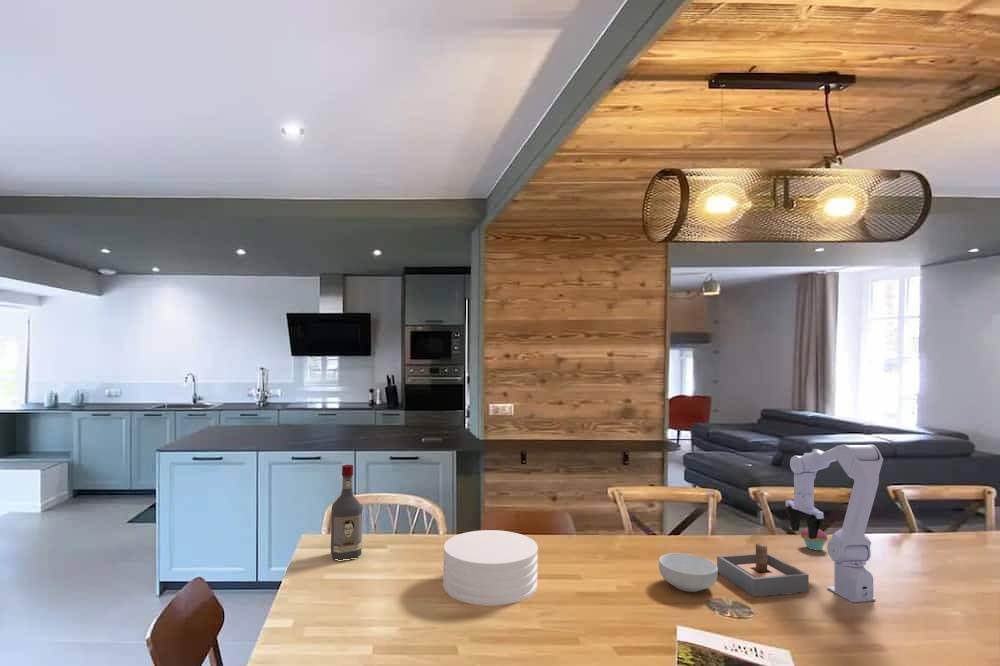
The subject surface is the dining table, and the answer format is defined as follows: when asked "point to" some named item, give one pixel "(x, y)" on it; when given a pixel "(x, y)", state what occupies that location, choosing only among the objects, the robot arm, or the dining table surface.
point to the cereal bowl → (688, 571)
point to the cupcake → (816, 542)
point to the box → (762, 575)
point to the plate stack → (490, 567)
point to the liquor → (346, 521)
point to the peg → (761, 558)
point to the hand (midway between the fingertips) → (803, 534)
